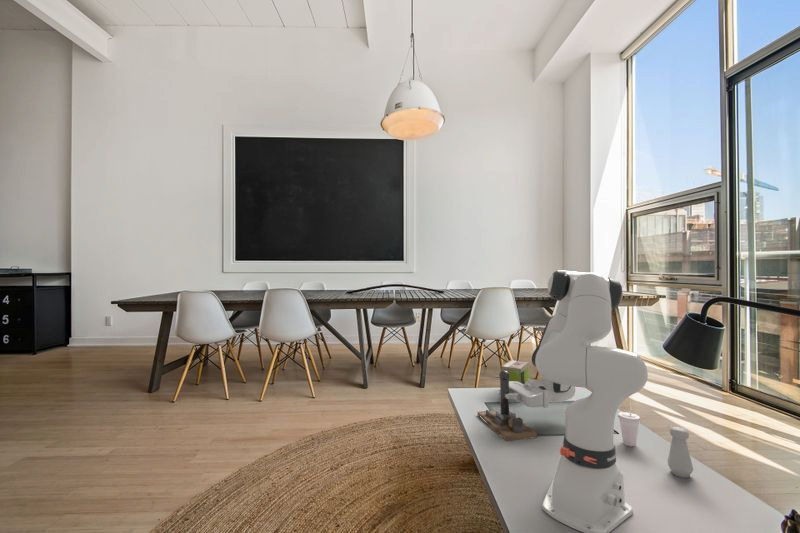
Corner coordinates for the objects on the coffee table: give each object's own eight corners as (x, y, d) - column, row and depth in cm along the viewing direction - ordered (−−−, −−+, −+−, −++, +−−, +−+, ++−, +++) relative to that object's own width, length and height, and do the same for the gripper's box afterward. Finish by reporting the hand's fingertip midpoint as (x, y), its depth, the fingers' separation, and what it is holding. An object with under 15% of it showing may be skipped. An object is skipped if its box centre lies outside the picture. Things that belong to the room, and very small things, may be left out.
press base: (477, 415, 145) (477, 401, 145) (504, 412, 148) (503, 398, 148) (506, 440, 122) (506, 423, 123) (536, 437, 125) (536, 420, 125)
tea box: (510, 388, 181) (510, 359, 181) (531, 391, 175) (530, 361, 175) (500, 396, 168) (500, 365, 169) (521, 400, 163) (521, 368, 163)
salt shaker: (694, 473, 102) (693, 428, 102) (692, 482, 97) (691, 434, 98) (669, 466, 106) (667, 422, 106) (666, 474, 101) (665, 428, 102)
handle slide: (495, 418, 137) (495, 369, 137) (507, 417, 138) (507, 368, 139) (503, 425, 131) (502, 373, 132) (516, 423, 132) (515, 372, 133)
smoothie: (644, 449, 116) (643, 406, 117) (623, 447, 117) (622, 405, 118) (635, 440, 122) (634, 399, 123) (615, 438, 124) (614, 398, 124)
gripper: (519, 376, 148) (489, 378, 145) (550, 391, 128) (516, 394, 125) (520, 391, 148) (489, 393, 145) (551, 409, 128) (516, 412, 125)
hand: (502, 394), depth 135 cm, fingers closed on handle slide, 3 cm apart
